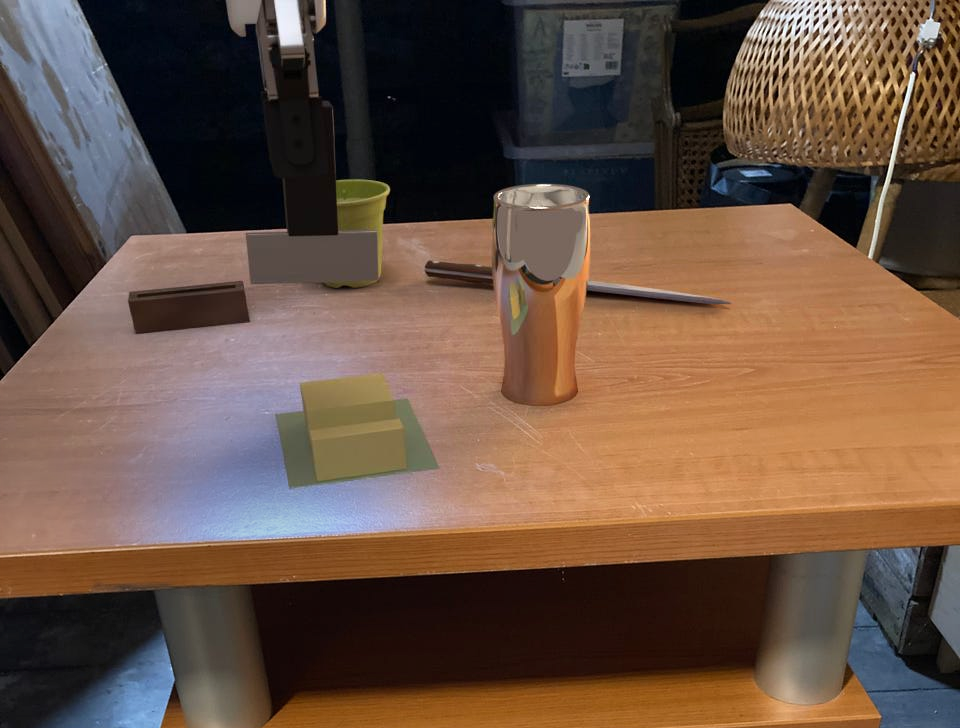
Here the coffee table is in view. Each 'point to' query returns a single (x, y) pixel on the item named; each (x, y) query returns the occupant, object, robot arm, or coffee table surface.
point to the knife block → (188, 306)
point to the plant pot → (361, 214)
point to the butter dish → (304, 475)
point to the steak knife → (485, 276)
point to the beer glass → (540, 287)
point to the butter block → (346, 401)
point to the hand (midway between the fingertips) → (299, 168)
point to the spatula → (313, 234)
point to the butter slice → (358, 449)
